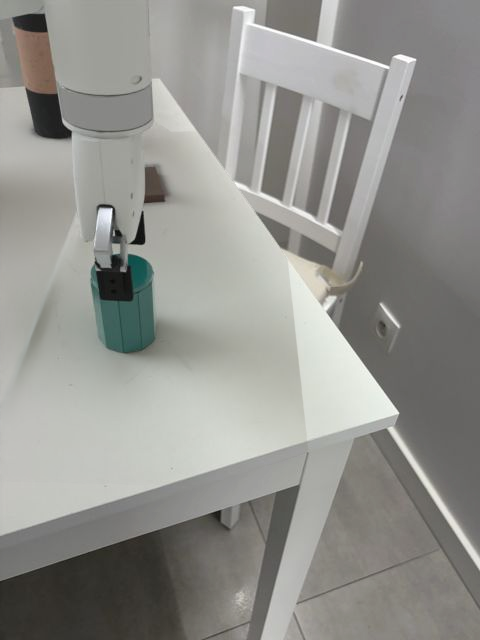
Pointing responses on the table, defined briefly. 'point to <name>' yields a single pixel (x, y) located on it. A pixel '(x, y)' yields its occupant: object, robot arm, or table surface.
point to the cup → (128, 311)
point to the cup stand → (153, 186)
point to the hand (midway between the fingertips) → (124, 269)
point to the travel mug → (39, 75)
